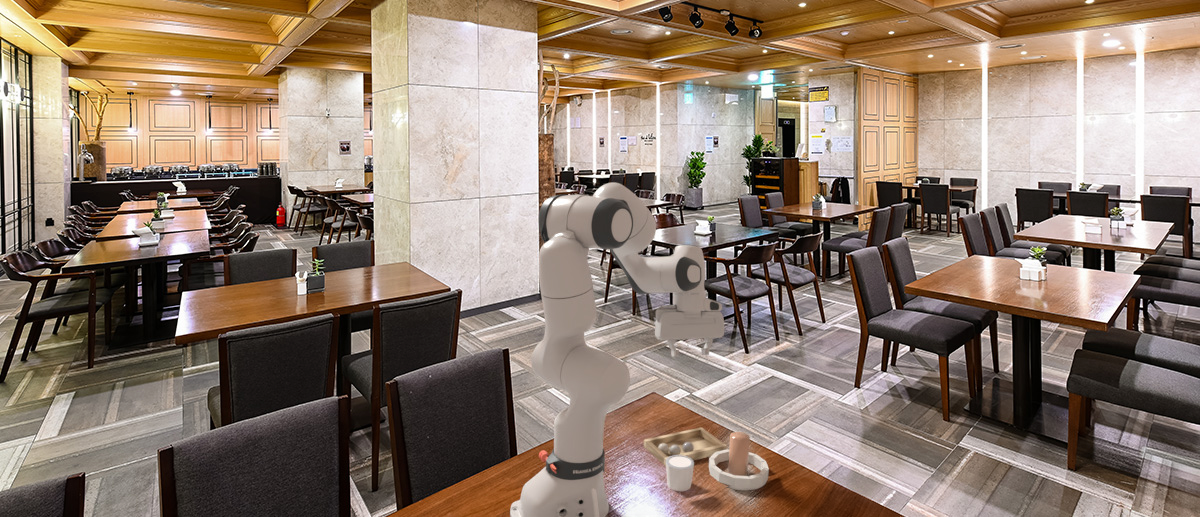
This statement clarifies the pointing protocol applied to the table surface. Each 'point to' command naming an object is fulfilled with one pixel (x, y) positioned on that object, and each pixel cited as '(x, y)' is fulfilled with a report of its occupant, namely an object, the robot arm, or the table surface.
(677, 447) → the pebble
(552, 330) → the robot arm
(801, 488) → the table surface
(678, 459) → the shot glass
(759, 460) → the bowl
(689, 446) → the pebble
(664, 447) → the pebble
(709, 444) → the parts tray
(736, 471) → the peach cylinder
